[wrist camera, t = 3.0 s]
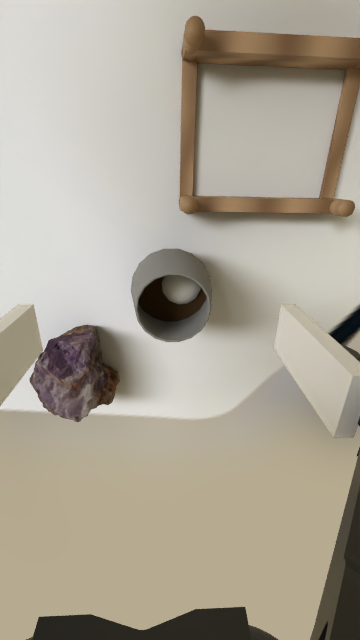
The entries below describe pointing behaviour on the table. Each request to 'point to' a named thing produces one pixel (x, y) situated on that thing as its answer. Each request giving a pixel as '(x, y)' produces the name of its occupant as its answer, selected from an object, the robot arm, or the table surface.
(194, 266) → the cup
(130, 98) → the table surface
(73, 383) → the rock
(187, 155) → the frame
